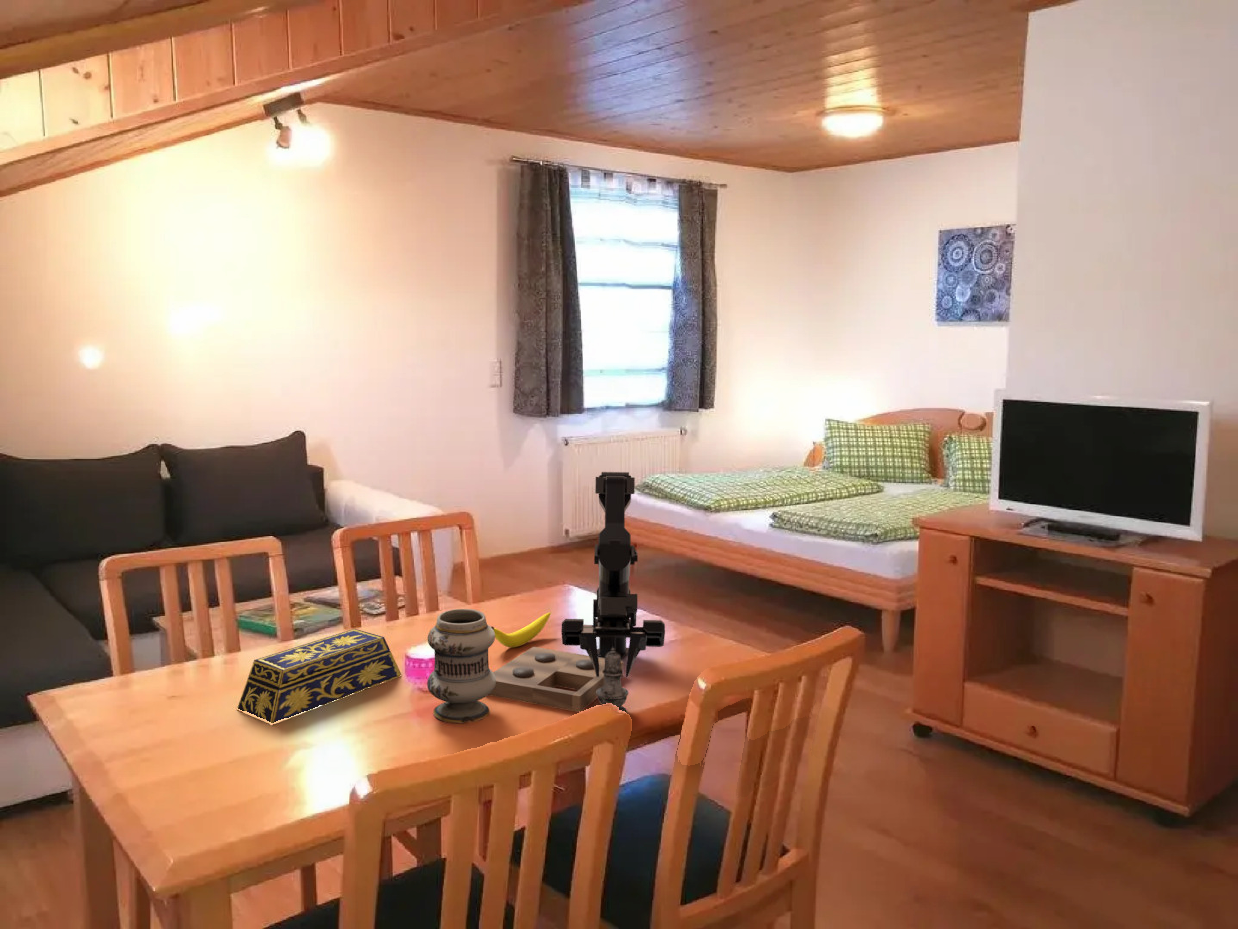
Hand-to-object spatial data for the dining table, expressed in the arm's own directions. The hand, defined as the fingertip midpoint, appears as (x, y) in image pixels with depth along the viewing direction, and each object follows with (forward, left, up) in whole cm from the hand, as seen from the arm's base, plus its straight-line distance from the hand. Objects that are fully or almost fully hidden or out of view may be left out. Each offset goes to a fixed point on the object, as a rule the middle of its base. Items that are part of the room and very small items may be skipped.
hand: (612, 676), depth 176 cm
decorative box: (+14, -53, -8) cm, 55 cm away
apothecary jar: (+11, -25, -7) cm, 28 cm away
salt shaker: (-1, -1, -7) cm, 7 cm away
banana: (-26, -33, -7) cm, 42 cm away
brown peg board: (-8, -16, -7) cm, 19 cm away
